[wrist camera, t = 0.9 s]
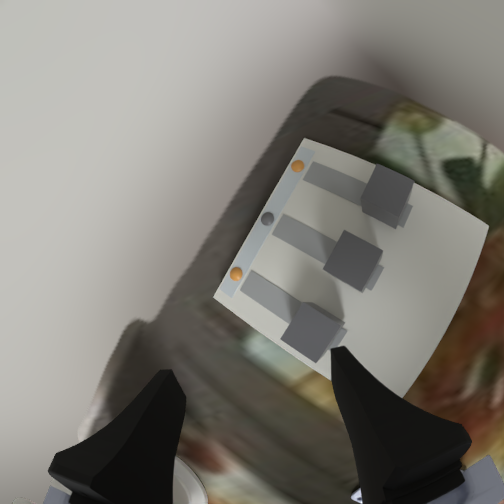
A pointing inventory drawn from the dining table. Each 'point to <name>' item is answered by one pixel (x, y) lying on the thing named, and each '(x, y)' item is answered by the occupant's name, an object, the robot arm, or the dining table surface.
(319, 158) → the switch panel
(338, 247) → the dark gray cube
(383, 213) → the gray cube
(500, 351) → the dining table surface
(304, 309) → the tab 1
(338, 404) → the robot arm
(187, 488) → the decorative vase
